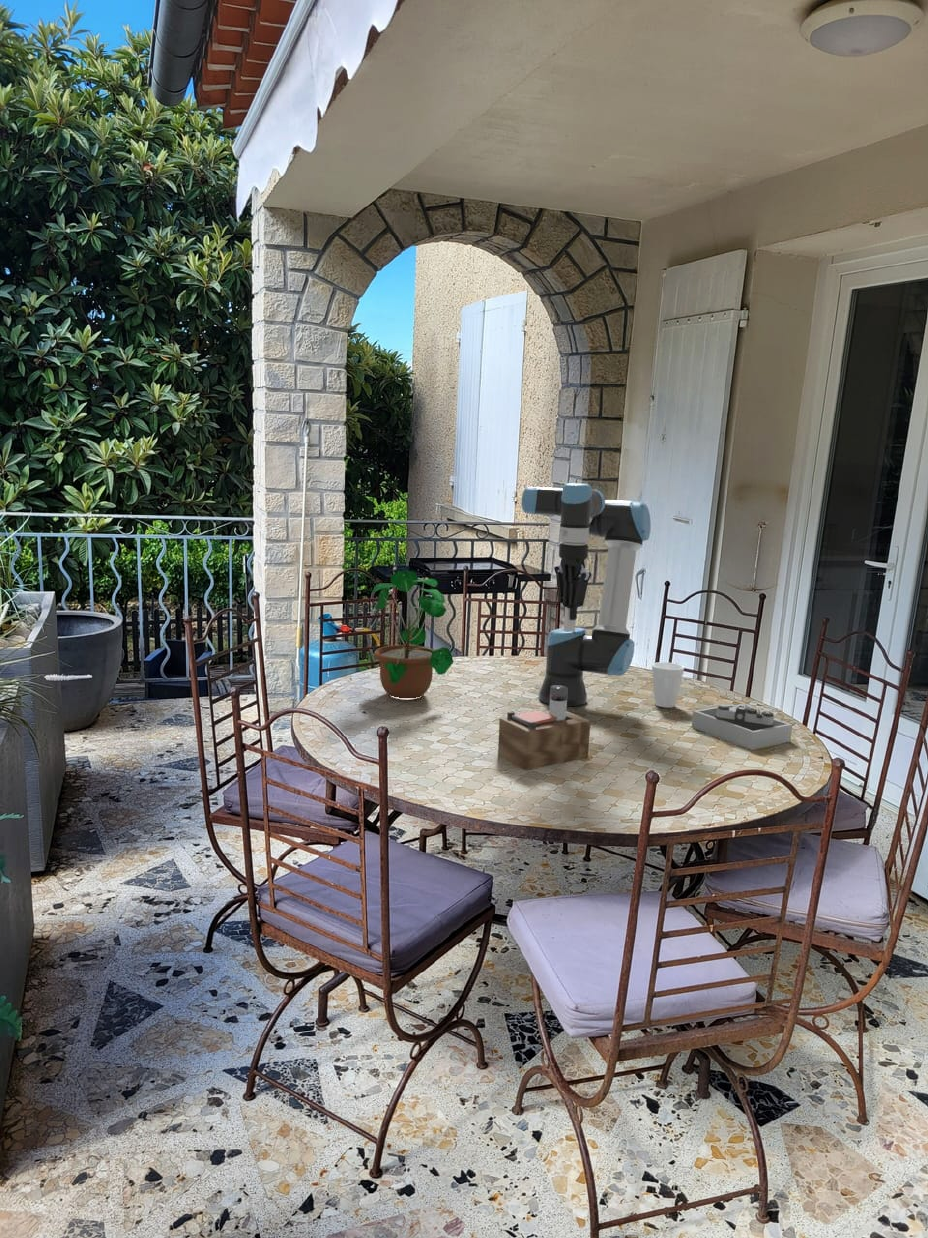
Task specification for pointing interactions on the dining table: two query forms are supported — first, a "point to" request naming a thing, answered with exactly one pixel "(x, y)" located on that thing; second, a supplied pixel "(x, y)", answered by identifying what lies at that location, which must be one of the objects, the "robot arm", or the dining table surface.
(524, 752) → the block
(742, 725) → the camera
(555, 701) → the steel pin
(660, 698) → the cup
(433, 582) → the potted plant
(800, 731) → the dining table surface
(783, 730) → the camera corral
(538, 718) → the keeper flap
